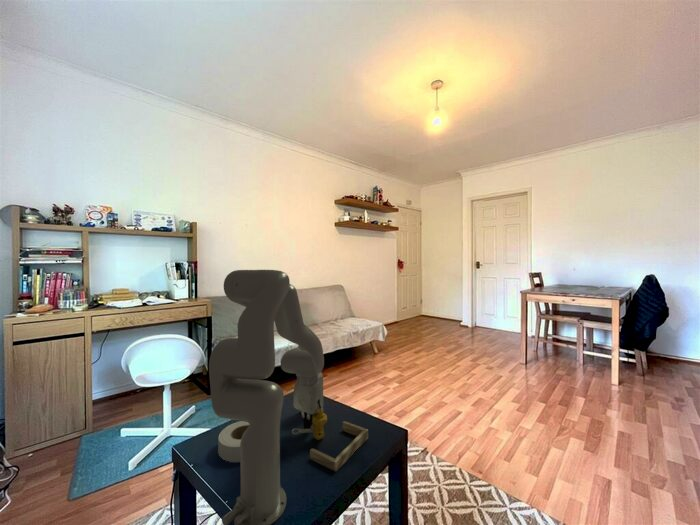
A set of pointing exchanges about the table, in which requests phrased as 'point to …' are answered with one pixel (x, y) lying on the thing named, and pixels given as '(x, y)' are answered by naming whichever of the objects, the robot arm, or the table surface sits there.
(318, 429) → the pressure relief valve
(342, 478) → the table surface
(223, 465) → the table surface
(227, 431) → the roll of tape
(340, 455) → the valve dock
